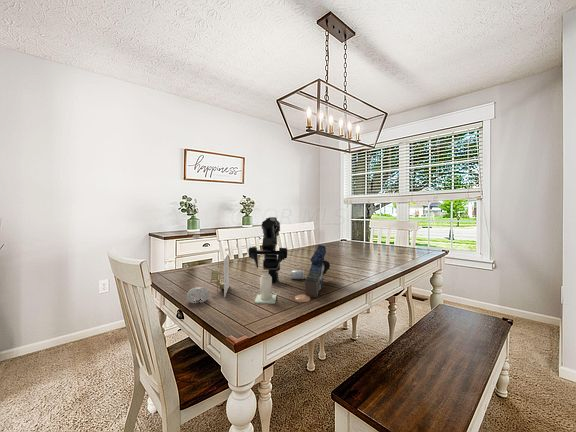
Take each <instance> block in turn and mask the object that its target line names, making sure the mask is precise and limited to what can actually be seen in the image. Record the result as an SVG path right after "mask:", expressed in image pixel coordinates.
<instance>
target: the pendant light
mask: <svg viewBox="0 0 576 432" xmlns="http://www.w3.org/2000/svg"><path fill="white" fill-rule="evenodd" d="M192 238H194V239H195V240H198V239H199V238H201V235H200V234H194V235H193V236H192ZM198 267H199V266H197V269H196V270H197V271H196V272H197V274H196V275H197V276H196V277H197V278H199V276H198ZM209 295H210V291H209V289H208V288H206V287H205V286H204V287H203V286H196V287H192V288H191V289H189V290H188V292H187V294H186V298H187V301H188V302H189V303H191V304H194V303H195V304H196V303H197V304H198V301H199V302H200V303H199V304H201V302H202V303H204V302H205V301H207V300H208V299H209ZM201 298H202V299H201ZM200 299H201V300H202V301H201V300H200ZM196 300H197V301H196ZM194 301H195V302H194Z"/></svg>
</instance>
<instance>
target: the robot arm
mask: <svg viewBox="0 0 576 432" xmlns="http://www.w3.org/2000/svg"><path fill="white" fill-rule="evenodd" d="M261 229H262V233H263V238H262V244H261V249H258V247H256V246H255V247H254V246H253V247H252V246H249V248H248V251H247V252H248V257H249V259H252V260H253V261H254V262H255V267H256V269H258V268H259V262H258V261H259V258H258V257H259V256H258V255H264V259H263V261H262V262H263V267H262V268H263V269H262V270H264V269H268V270H269V272H268V274H270V276H271V277H272V284H275V283H276V282H278V281H279V280H280V279H279V272H280V270H281V262H283V260H285V259H287V258H288V248H287V247H279V248H278V250H276V246H277V245H278V236H279V235H280V232H281V222H279V220H277V217H276V216H275V217H273V216H269V217H267V218H265V219H264V220H263V221H262V222H261Z"/></svg>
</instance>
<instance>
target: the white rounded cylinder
mask: <svg viewBox="0 0 576 432" xmlns="http://www.w3.org/2000/svg"><path fill="white" fill-rule="evenodd" d="M304 271H305V270H300V269H299V270H297V269H291V271H290V279H291V280H304V277H305V276H304V275H305V272H304Z"/></svg>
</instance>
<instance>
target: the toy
mask: <svg viewBox="0 0 576 432" xmlns="http://www.w3.org/2000/svg"><path fill="white" fill-rule="evenodd" d="M326 253H327V247H326V245H324V244H319V243H318V245H317V248H316V250H315V252H314V253H313V255H312V256H311V258H310V260H309V261H310V262H311V265H310V268H309V271H308V273H307V276H306V278H305V281H304V288H305V289H304V291H305V292H304V293H305V294H304V295H308V296H310V298H318V295H319V291H321V289H322V286H323V284H324V275H326V273H327V271H328V270H329V269H330V268H331V264H330V262H329V261H327V260H325V256H326Z"/></svg>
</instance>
